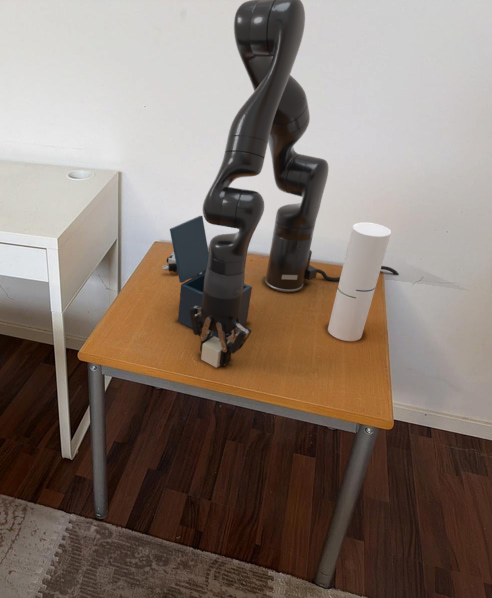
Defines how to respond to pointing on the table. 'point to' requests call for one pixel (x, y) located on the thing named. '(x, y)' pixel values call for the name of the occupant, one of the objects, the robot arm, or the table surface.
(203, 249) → the lid
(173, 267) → the robot toy
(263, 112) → the robot arm
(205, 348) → the block
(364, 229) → the cylindrical container
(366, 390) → the table surface
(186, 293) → the caddy
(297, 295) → the table surface
